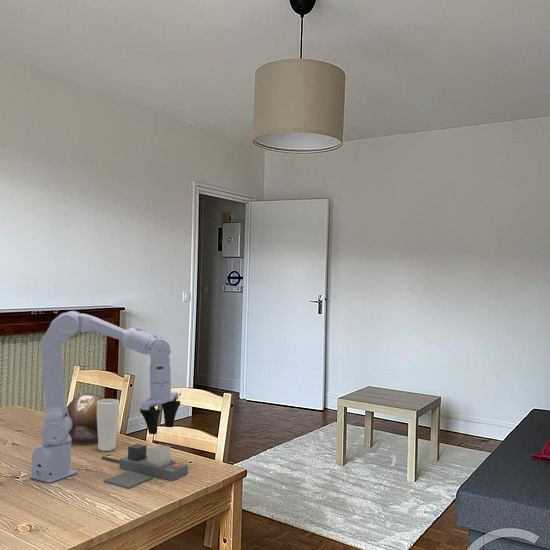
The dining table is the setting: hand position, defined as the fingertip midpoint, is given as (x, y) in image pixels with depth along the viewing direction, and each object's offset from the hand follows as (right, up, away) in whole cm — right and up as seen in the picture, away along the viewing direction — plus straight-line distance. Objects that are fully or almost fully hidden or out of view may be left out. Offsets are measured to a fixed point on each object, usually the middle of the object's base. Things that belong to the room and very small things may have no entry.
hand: (161, 430), depth 155 cm
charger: (0, -9, -1) cm, 9 cm away
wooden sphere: (-30, -11, +28) cm, 43 cm away
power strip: (-7, -11, +2) cm, 13 cm away
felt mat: (-7, -11, -8) cm, 15 cm away
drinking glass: (-21, -11, +18) cm, 30 cm away
